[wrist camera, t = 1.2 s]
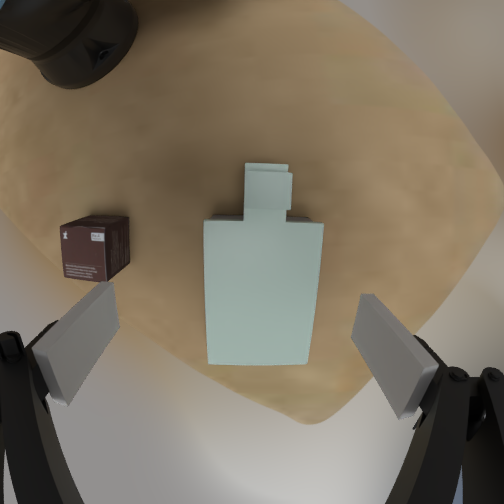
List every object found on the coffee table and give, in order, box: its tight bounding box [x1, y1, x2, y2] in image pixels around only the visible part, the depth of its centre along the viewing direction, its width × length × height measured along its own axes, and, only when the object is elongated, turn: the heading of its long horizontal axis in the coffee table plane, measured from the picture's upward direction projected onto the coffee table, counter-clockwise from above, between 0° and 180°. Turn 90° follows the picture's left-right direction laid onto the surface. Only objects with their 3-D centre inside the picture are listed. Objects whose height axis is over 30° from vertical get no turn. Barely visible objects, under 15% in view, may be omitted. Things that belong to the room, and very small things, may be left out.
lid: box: [204, 163, 324, 365], centre depth 28 cm, size 22×12×4 cm, turn 178°
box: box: [60, 215, 130, 282], centre depth 30 cm, size 6×6×7 cm
